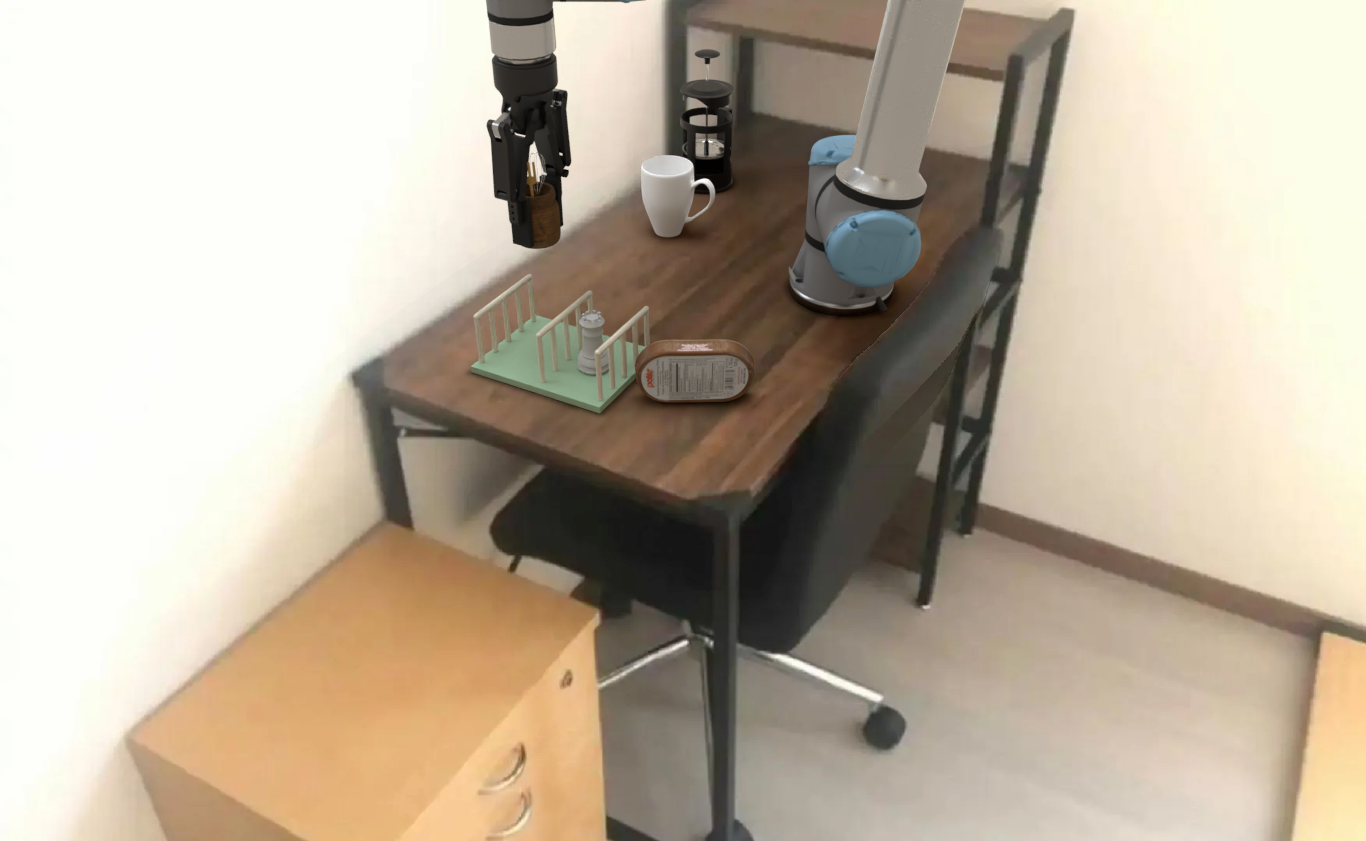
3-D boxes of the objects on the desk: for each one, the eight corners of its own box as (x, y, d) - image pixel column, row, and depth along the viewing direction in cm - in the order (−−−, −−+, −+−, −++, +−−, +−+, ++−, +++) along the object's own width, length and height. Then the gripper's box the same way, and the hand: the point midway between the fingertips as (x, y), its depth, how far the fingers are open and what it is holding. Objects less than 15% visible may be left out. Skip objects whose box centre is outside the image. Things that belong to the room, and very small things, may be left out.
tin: (752, 390, 145) (754, 335, 140) (754, 404, 143) (756, 348, 138) (635, 393, 145) (634, 337, 140) (635, 407, 142) (634, 351, 137)
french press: (709, 200, 191) (711, 66, 178) (666, 186, 196) (664, 54, 182) (748, 177, 199) (753, 47, 185) (705, 164, 203) (707, 36, 190)
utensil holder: (563, 229, 147) (557, 142, 140) (558, 251, 142) (552, 162, 135) (518, 229, 147) (510, 141, 140) (512, 251, 142) (503, 161, 135)
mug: (634, 238, 180) (632, 171, 173) (653, 216, 186) (652, 151, 179) (704, 250, 176) (705, 183, 170) (722, 228, 183) (723, 162, 176)
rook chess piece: (573, 361, 149) (569, 309, 144) (605, 355, 150) (603, 303, 145) (583, 379, 145) (579, 326, 141) (616, 372, 147) (613, 320, 142)
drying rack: (658, 356, 152) (657, 302, 147) (599, 413, 141) (596, 357, 136) (535, 320, 159) (530, 268, 154) (471, 372, 149) (463, 317, 144)
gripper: (543, 27, 138) (555, 200, 152) (446, 72, 125) (469, 258, 139) (594, 36, 136) (602, 212, 149) (501, 84, 122) (519, 272, 136)
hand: (538, 233), depth 144 cm, fingers closed on utensil holder, 6 cm apart
